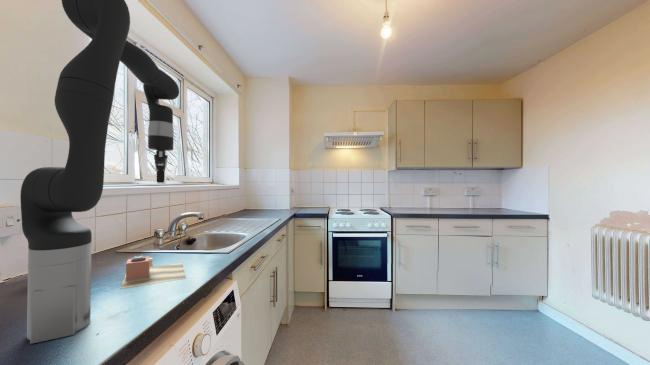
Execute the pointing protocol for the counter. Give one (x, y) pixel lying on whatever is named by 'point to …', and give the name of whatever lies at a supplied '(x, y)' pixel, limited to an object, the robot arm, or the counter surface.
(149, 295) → the counter surface
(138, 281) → the beige flat rectangular board
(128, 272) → the brown boxy piece
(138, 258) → the d shaft post
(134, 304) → the counter surface
